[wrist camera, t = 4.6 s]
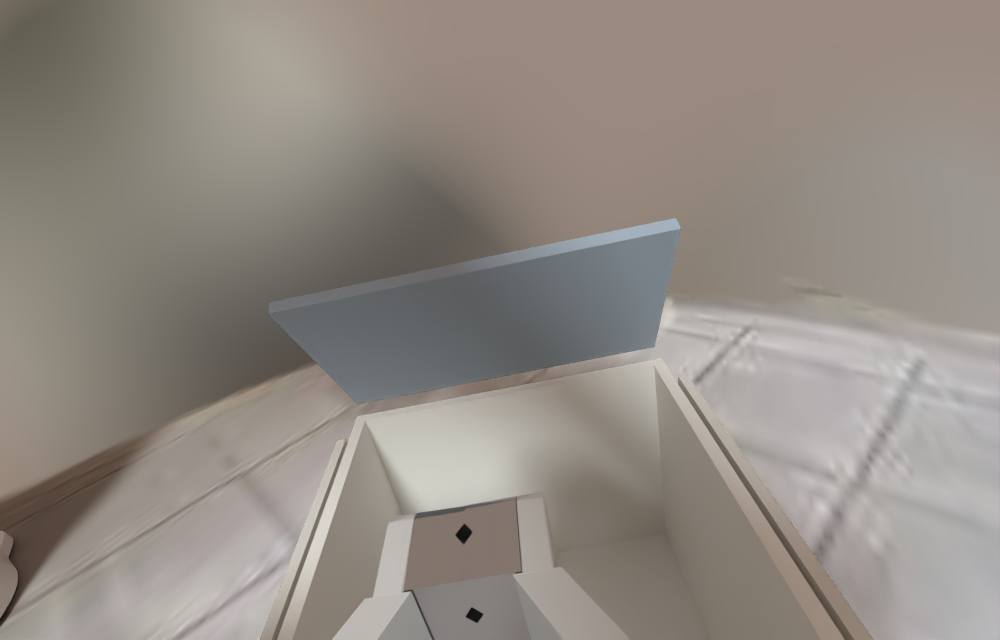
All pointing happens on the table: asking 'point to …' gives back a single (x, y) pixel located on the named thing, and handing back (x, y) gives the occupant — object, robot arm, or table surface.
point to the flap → (488, 314)
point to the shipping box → (576, 508)
